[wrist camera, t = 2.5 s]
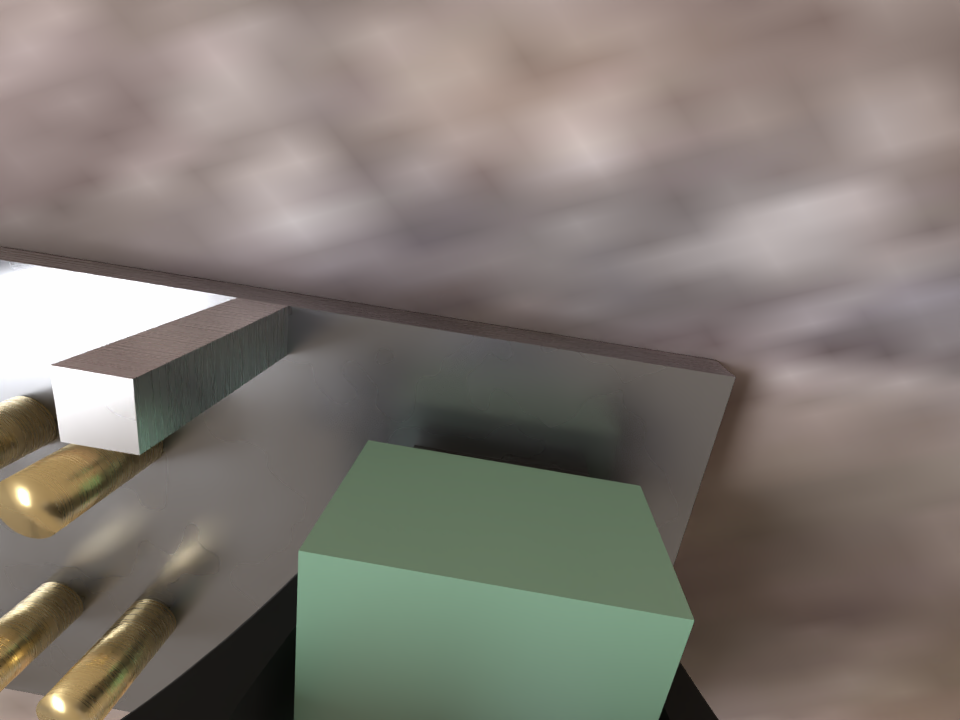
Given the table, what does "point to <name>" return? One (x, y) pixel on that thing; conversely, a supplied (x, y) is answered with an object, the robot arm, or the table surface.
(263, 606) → the robot arm
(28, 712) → the table surface
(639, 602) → the green block
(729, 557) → the table surface
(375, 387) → the chassis
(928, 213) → the table surface
